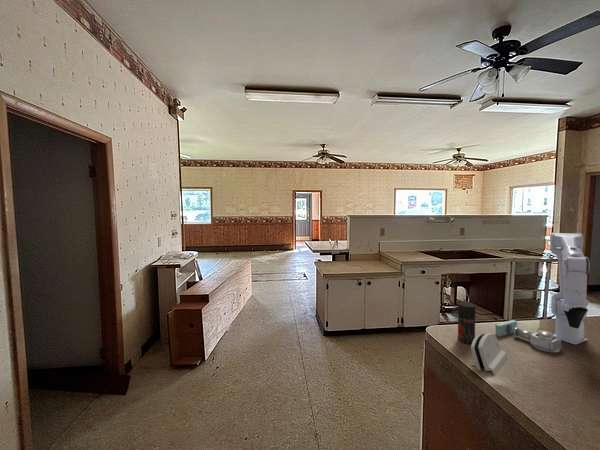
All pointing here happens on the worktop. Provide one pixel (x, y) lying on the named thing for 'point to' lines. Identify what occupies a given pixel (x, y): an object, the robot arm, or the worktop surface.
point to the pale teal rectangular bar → (505, 327)
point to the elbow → (539, 339)
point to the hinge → (488, 353)
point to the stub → (549, 337)
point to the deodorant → (466, 322)
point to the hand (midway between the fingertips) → (574, 327)
